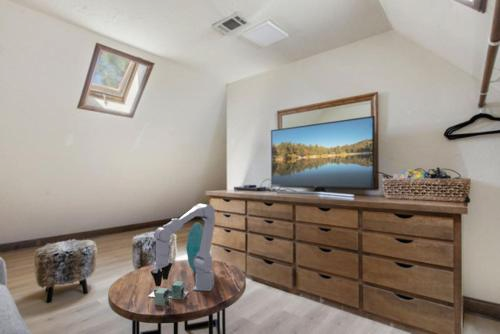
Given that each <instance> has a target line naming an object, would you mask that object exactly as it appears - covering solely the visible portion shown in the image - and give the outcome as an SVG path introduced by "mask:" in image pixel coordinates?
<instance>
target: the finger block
mask: <svg viewBox="0 0 500 334" xmlns="http://www.w3.org/2000/svg"><path fill="white" fill-rule="evenodd" d="M157 289H158V290H157V291H156V292H155V298H154V305H155V306H165V305H166V302H169V299H170V298H169V289H170V288H165V287H164V288H163V287H159V288H157Z"/></svg>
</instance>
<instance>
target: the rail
mask: <svg viewBox="0 0 500 334" xmlns="http://www.w3.org/2000/svg"><path fill="white" fill-rule="evenodd" d="M158 289H159V288H154V289H153V291H152V292H151V293H150V294H149V295H148V296H147V298H154V299H155V292H156V291H157V290H158ZM168 289H169V299H175V300H184V299H186V297H187V296H188V295H189V292H190V291H188V290H187V291H185V281H183V280H176V281H174V283H172V284H171V288H168Z"/></svg>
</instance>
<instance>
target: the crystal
mask: <svg viewBox="0 0 500 334" xmlns="http://www.w3.org/2000/svg"><path fill="white" fill-rule="evenodd" d="M203 229H204V226H203V225H202V224H201V223H200V222H194V223H193V224H192V227H191V228H190V230H189V231H188V235H187V241H186V246H185V247H186V248H185V249H186V254H187V259H188V260H187V262H188V265H189V267H190V268H191V269H192V271H193V272H194V273H196V270H195V267H194V265H193V261H194V259H195V257H196V254H197V253H198V252H199V251H200V245H201V240H202V234H203Z"/></svg>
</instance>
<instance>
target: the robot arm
mask: <svg viewBox="0 0 500 334" xmlns="http://www.w3.org/2000/svg"><path fill="white" fill-rule="evenodd" d="M215 213H216V208H214V207H213V205H212V204H207V203H206V204H205V203H200V202H199V203H197V204H196V205H194V206H192V208H191V209H190V210H189V211H187V212H186V213H185V214H183V215H182V216H181V217H179V218H178V217H175V218H171V221H169V222H168V223H166V224H164V225H162V226H161V227H158V228H157V229H156V230H155V231H154V233H153V237H154V238H155V261H154V262H153V263H152V264H153V268H152V270H151V271H150V275H151V276H152V278H153V281H154V284H155V287H159V288H161V285H162V280H164V281H165V280H168V279H169V277H170V276H169V275H170V271H171V269H172V267H173V263H171V257H169V252H170V251H169V250H170V249H169V247H170V246H169V244H170V243H169V241H170V239H171V237H172V236H173V235H174V234H175V233H177V232H178V231H179V230H182V228H183V226H184V224H185V223H187V222H189V221H190V220H192V219H194V218H195V217H200V218H201V219H202V220H203V222H204V224H203V225H204V226H203V234H202V240H201V245H200V251H199V252H198V253H197V254H196V257H195V259H194V261H193V265H194V267H195V270H196V272H195V286H194V287H193V288H192V291H203V292H204V291H205V292H210V291H212V290H213V288H214V286H215V271H214V270H212V268H213V257H212V255H211V253H210V251H211V247H212V241H213V235H214V229H215V224H216V216H215Z"/></svg>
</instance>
